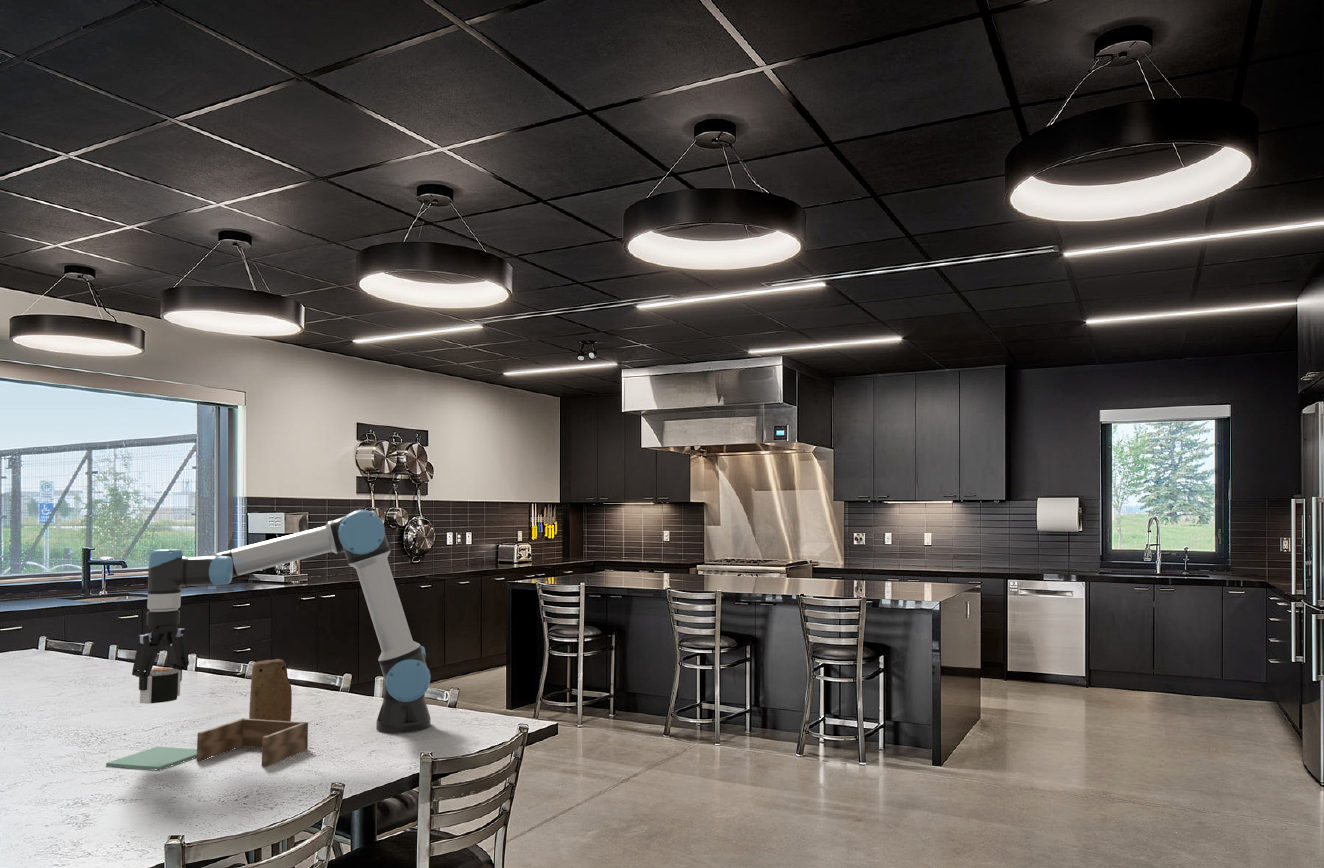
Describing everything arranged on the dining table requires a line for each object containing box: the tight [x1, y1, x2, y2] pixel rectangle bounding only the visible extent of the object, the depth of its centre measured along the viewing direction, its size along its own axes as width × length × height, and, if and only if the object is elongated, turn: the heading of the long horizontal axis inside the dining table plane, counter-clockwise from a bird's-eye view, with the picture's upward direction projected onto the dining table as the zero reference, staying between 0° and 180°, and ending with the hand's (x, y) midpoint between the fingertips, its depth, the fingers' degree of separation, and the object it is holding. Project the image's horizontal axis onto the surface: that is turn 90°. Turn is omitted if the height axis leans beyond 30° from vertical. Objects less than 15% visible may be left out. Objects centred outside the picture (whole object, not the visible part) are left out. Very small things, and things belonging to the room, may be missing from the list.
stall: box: [196, 718, 309, 767], centre depth 234 cm, size 16×20×7 cm
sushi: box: [149, 666, 179, 704], centre depth 232 cm, size 8×8×8 cm
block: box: [248, 658, 293, 721], centre depth 260 cm, size 11×8×20 cm
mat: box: [105, 746, 197, 771], centre depth 230 cm, size 16×16×1 cm
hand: (160, 699), depth 231 cm, fingers closed on sushi, 9 cm apart
